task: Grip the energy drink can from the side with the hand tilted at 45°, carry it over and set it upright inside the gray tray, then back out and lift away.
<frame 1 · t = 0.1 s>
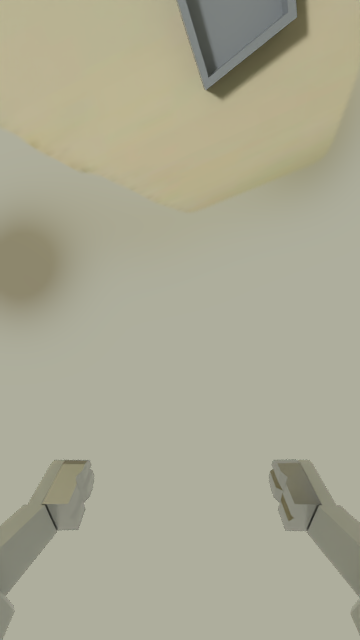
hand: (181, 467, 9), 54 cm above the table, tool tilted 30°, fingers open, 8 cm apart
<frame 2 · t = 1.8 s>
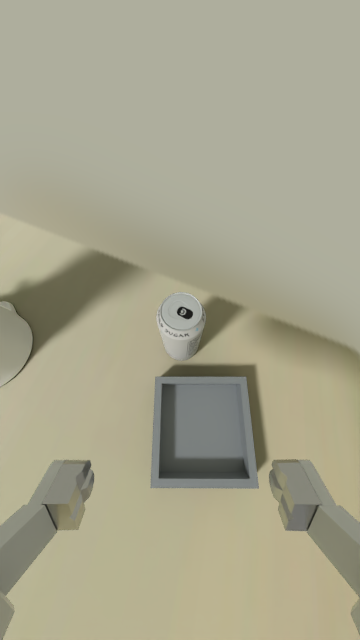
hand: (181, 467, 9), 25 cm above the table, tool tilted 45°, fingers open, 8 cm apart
energy drink can: (181, 345, 38), on the table
gray tray: (200, 425, 33), on the table
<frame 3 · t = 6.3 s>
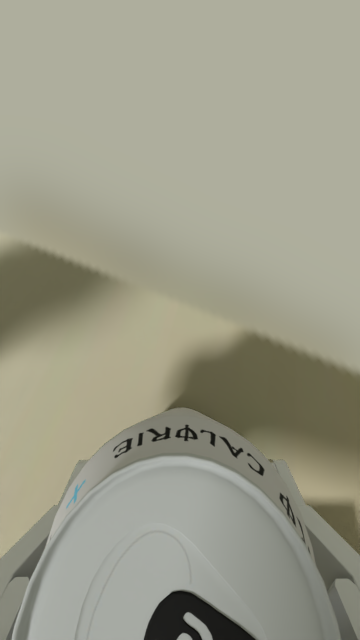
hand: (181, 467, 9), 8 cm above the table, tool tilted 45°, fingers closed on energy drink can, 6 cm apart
energy drink can: (181, 447, 17), on the table, touching gripper
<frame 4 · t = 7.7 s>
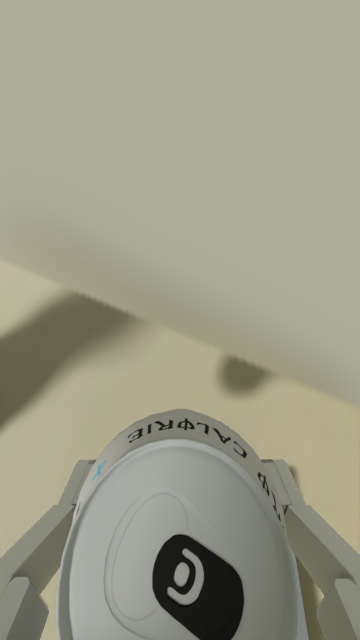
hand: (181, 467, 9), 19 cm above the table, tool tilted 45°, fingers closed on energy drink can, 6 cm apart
energy drink can: (181, 445, 18), point 9 cm above the table, touching gripper
gray tray: (217, 575, 22), on the table
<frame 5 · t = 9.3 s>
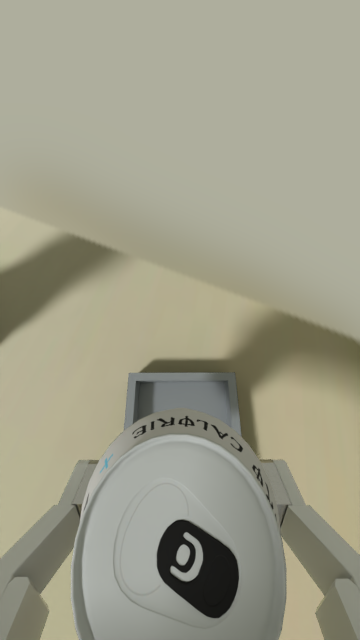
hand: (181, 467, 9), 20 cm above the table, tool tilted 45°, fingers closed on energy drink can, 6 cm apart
energy drink can: (181, 443, 19), point 10 cm above the table, touching gripper
gray tray: (182, 429, 28), on the table
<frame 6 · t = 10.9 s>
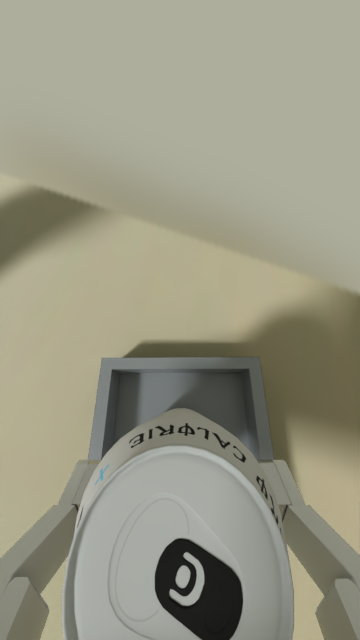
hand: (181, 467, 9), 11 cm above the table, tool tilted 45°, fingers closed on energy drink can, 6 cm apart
energy drink can: (181, 444, 18), point 1 cm above the table, touching gray tray, gripper
gray tray: (180, 440, 19), on the table
when the fingers open (10 cm above the table, at t = 11.5 s): energy drink can stays where it is, resting on gray tray.
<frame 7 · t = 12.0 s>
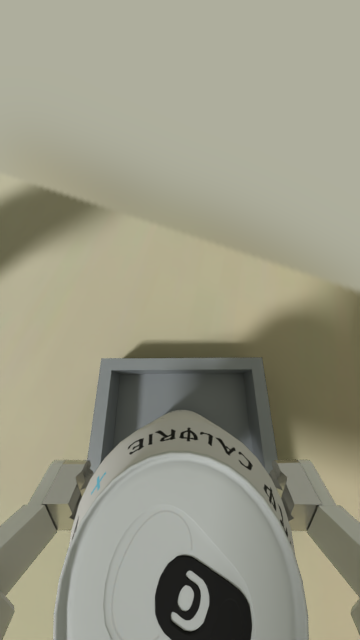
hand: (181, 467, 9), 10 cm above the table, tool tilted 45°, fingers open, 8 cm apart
energy drink can: (182, 446, 18), point 1 cm above the table, touching gray tray
gray tray: (182, 443, 19), on the table
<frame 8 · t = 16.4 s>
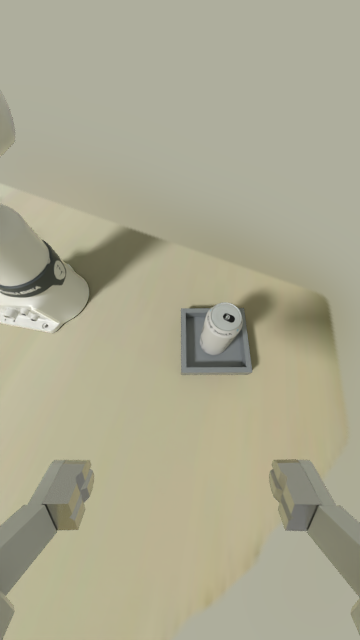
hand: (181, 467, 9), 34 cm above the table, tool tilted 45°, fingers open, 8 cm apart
energy drink can: (212, 342, 46), point 1 cm above the table, touching gray tray
gray tray: (212, 343, 47), on the table
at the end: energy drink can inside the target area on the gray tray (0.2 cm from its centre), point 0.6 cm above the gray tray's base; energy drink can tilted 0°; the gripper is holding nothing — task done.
